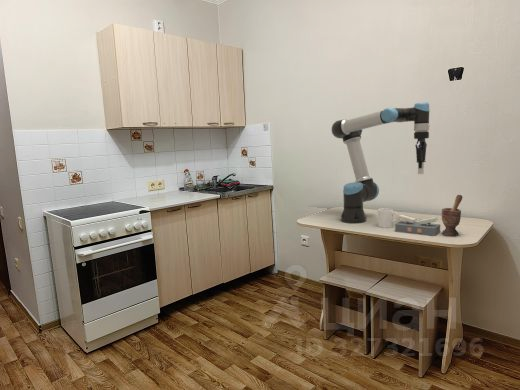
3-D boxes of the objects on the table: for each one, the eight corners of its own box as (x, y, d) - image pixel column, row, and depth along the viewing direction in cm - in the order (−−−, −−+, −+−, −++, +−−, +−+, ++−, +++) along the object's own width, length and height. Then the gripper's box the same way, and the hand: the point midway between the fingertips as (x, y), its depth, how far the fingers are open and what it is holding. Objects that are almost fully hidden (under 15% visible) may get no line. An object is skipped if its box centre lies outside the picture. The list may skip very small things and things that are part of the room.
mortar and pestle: (445, 230, 195) (446, 193, 192) (463, 232, 189) (464, 194, 186) (439, 235, 186) (439, 196, 183) (457, 237, 181) (458, 197, 178)
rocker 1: (398, 218, 199) (398, 215, 199) (400, 217, 202) (401, 214, 201) (413, 223, 194) (413, 220, 194) (415, 221, 197) (415, 218, 197)
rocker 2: (420, 224, 192) (419, 221, 192) (422, 223, 195) (421, 219, 195) (436, 221, 187) (435, 218, 187) (437, 220, 190) (436, 216, 190)
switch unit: (395, 231, 198) (395, 221, 197) (401, 227, 205) (401, 218, 205) (434, 236, 185) (435, 226, 184) (440, 231, 193) (440, 221, 192)
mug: (396, 229, 202) (396, 211, 201) (375, 226, 210) (375, 210, 209) (401, 226, 208) (401, 209, 207) (381, 224, 216) (381, 207, 215)
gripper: (425, 131, 194) (424, 175, 197) (432, 130, 203) (431, 173, 207) (410, 131, 198) (410, 175, 202) (418, 131, 208) (417, 172, 212)
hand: (420, 174), depth 204 cm, fingers closed
